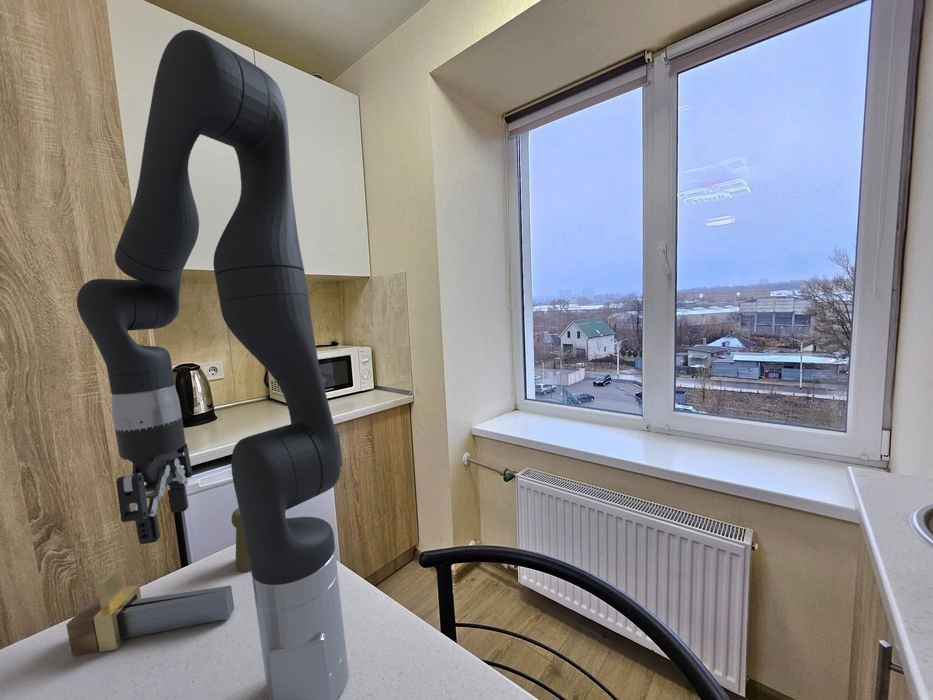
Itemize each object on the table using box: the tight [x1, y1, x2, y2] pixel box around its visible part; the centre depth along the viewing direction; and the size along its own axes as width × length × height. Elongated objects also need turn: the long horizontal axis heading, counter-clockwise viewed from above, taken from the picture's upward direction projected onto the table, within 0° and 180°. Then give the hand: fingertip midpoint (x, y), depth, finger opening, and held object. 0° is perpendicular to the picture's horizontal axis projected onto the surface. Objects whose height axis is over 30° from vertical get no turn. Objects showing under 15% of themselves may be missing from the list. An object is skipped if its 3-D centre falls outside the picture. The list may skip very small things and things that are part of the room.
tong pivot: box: [65, 597, 101, 657], centre depth 57 cm, size 3×5×5 cm, turn 10°
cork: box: [231, 507, 251, 573], centre depth 73 cm, size 6×6×11 cm
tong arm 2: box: [122, 585, 235, 614], centre depth 60 cm, size 16×1×4 cm, turn 98°
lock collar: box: [93, 568, 142, 653], centre depth 58 cm, size 2×6×9 cm, turn 10°
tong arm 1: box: [116, 590, 233, 640], centre depth 58 cm, size 16×1×4 cm, turn 101°
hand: (166, 525), depth 58 cm, fingers open, 8 cm apart
